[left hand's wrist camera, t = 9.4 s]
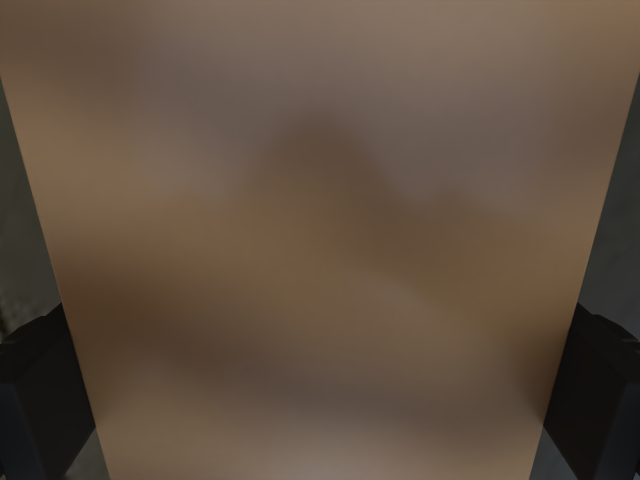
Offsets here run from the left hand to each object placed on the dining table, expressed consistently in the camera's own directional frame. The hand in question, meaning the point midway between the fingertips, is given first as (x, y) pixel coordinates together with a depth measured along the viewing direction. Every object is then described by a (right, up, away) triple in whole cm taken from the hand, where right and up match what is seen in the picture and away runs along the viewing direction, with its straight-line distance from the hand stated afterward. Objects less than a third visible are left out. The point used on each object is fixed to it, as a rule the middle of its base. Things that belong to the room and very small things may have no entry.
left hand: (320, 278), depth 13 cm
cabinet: (0, +7, +2) cm, 7 cm away
